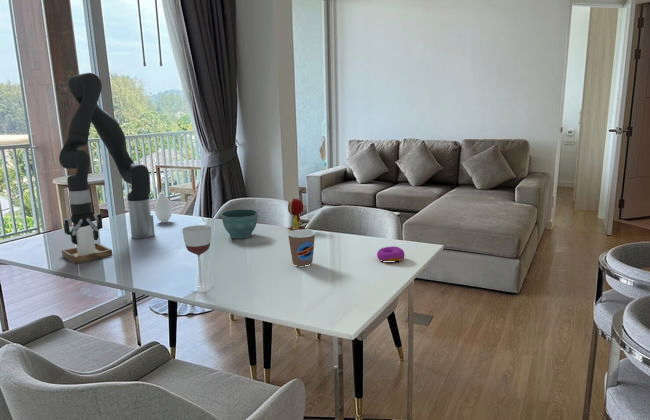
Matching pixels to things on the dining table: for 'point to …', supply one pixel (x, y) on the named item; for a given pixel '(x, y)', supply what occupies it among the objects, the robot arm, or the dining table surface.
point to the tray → (76, 259)
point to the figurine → (295, 213)
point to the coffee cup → (302, 246)
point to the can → (85, 241)
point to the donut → (390, 254)
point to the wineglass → (197, 242)
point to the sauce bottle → (163, 208)
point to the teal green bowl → (239, 222)
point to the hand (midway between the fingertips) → (85, 241)
